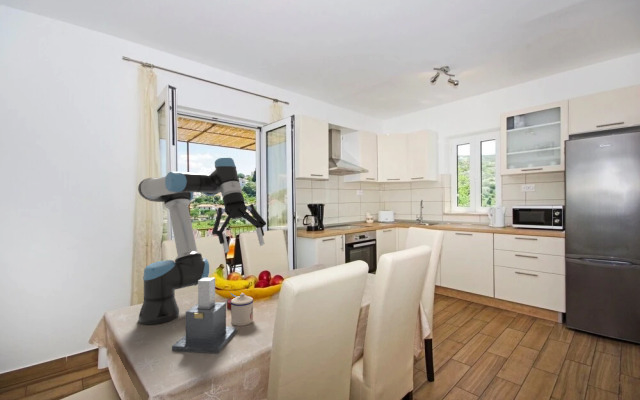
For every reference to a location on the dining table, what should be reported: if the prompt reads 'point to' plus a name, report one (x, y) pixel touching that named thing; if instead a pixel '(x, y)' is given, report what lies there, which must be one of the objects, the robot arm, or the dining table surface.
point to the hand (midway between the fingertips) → (245, 248)
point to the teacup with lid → (241, 310)
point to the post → (206, 293)
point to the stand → (205, 330)
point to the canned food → (230, 301)
